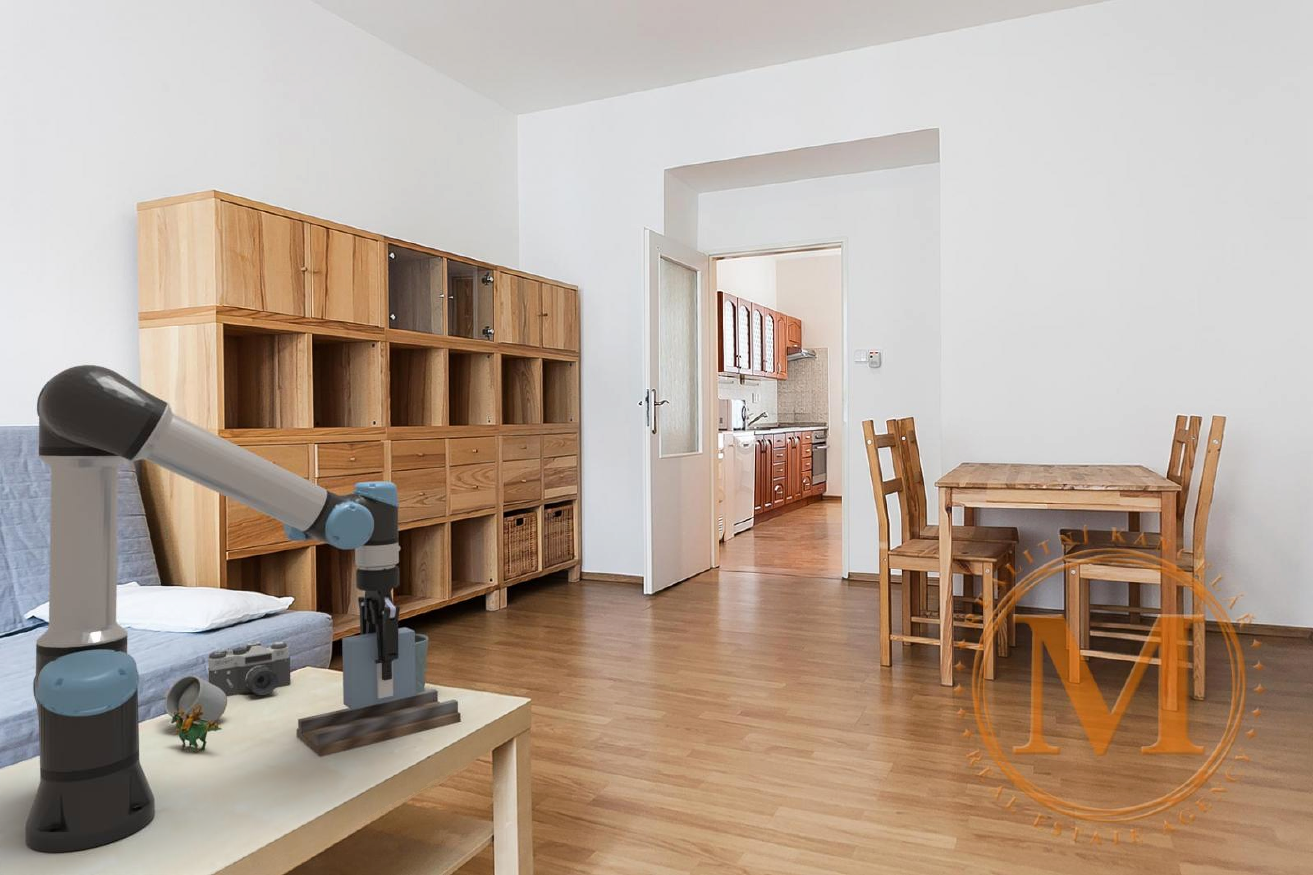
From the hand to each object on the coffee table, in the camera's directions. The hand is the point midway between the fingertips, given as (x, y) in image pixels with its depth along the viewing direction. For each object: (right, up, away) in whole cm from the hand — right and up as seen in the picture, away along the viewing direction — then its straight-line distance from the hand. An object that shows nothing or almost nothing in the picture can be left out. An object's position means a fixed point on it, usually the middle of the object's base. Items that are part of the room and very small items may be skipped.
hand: (379, 693), depth 160 cm
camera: (-33, -7, +21) cm, 40 cm away
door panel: (0, -1, 0) cm, 1 cm away
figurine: (-28, -7, -10) cm, 31 cm away
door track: (0, -7, 0) cm, 7 cm away
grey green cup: (-1, -6, +19) cm, 20 cm away
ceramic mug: (-36, -7, +3) cm, 37 cm away
